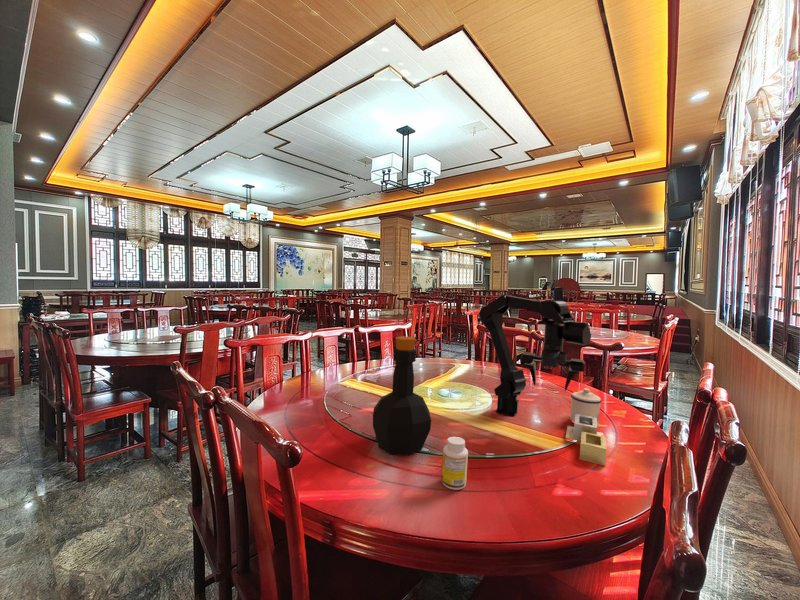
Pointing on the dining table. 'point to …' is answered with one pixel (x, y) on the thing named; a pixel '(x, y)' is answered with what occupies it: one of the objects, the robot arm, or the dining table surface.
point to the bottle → (402, 407)
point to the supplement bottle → (454, 464)
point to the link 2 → (593, 448)
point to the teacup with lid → (585, 404)
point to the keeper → (571, 431)
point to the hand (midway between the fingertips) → (549, 387)
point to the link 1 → (584, 425)
